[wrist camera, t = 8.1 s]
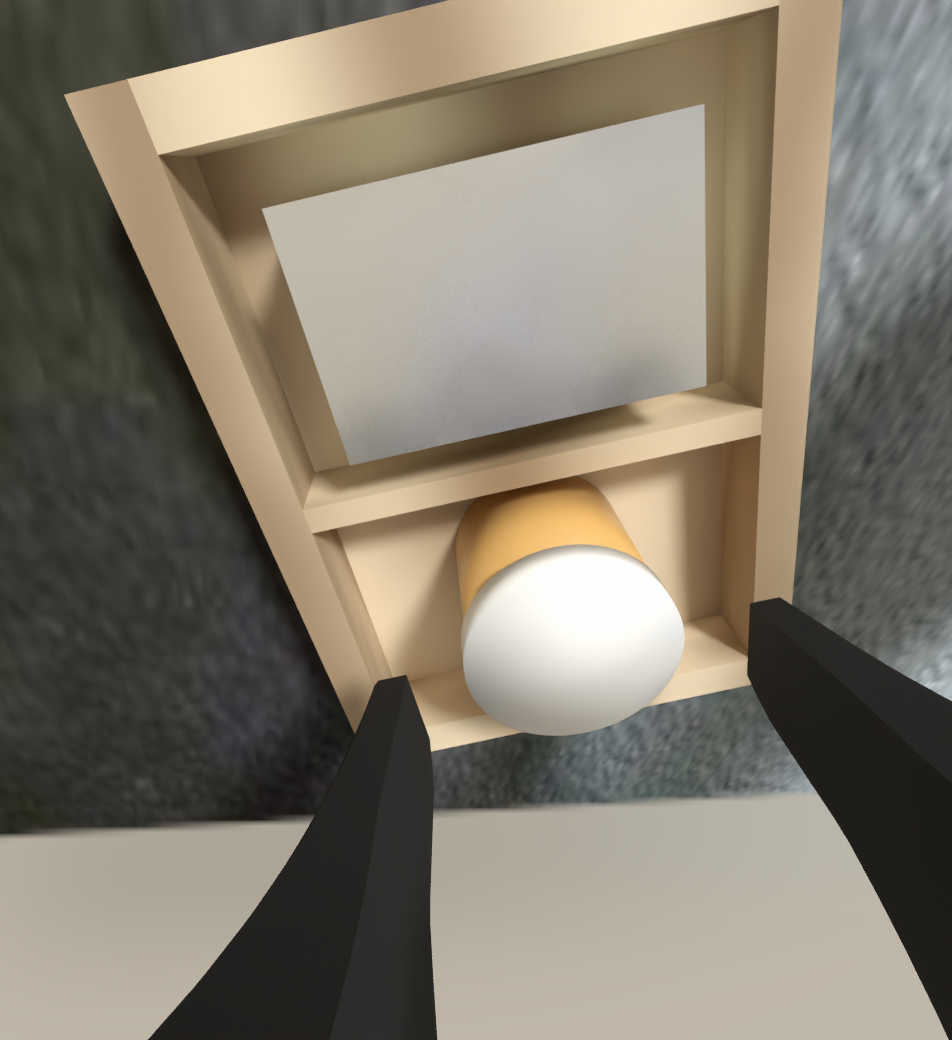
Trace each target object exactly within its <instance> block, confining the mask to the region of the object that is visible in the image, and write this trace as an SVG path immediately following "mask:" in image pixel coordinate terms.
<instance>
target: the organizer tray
mask: <svg viewBox="0 0 952 1040" xmlns="http://www.w3.org/2000/svg"><path fill="white" fill-rule="evenodd" d="M842 2H843V0H449V1H445V2H441V3H437V4H433V5H428V6H424V7H420V8H416V9H412V10H408V11H404V12H400V13H396V14H392V15H388V16H384V17H380V18H375V19H371V20H367V21H363V22H359V23H355V24H351V25H347V26H343V27H339V28H335V29H331V30H327V31H323V32H318V33H314V34H310V35H306V36H302V37H298V38H294V39H290V40H286V41H282V42H278V43H274V44H270V45H265V46H261V47H257V48H253V49H249V50H245V51H241V52H237V53H233V54H229V55H225V56H221V57H217V58H212V59H208V60H204V61H200V62H196V63H192V64H188V65H184V66H180V67H176V68H172V69H168V70H164V71H160V72H155V73H151V74H147V75H143V76H139V77H135V78H131V79H127V80H123V81H119V82H115V83H111V84H107V85H102V86H98V87H94V88H90V89H86V90H82V91H78V92H74V93H70V94H66V95H64V96H65V98H66V100H67V102H68V105H69V107H70V109H71V111H72V113H73V116H74V118H75V120H76V122H77V124H78V127H79V129H80V131H81V133H82V135H83V138H84V140H85V142H86V144H87V146H88V149H89V151H90V153H91V155H92V157H93V160H94V162H95V164H96V166H97V168H98V171H99V173H100V175H101V177H102V179H103V182H104V184H105V186H106V188H107V190H108V193H109V195H110V197H111V199H112V201H113V204H114V206H115V208H116V210H117V212H118V215H119V217H120V219H121V221H122V223H123V226H124V228H125V230H126V232H127V234H128V237H129V239H130V241H131V243H132V245H133V248H134V250H135V252H136V254H137V256H138V259H139V261H140V263H141V265H142V267H143V269H144V272H145V274H146V276H147V278H148V280H149V283H150V285H151V287H152V289H153V291H154V294H155V296H156V298H157V300H158V302H159V305H160V307H161V309H162V311H163V313H164V316H165V318H166V320H167V322H168V324H169V327H170V329H171V331H172V333H173V335H174V338H175V340H176V342H177V344H178V346H179V349H180V351H181V353H182V355H183V357H184V360H185V362H186V364H187V366H188V368H189V371H190V373H191V375H192V377H193V379H194V382H195V384H196V386H197V388H198V390H199V393H200V395H201V397H202V399H203V401H204V404H205V406H206V408H207V410H208V412H209V415H210V417H211V419H212V421H213V423H214V426H215V428H216V430H217V432H218V434H219V437H220V439H221V441H222V443H223V445H224V448H225V450H226V452H227V454H228V456H229V459H230V461H231V463H232V465H233V467H234V469H235V472H236V474H237V476H238V478H239V480H240V483H241V485H242V487H243V489H244V491H245V494H246V496H247V498H248V500H249V502H250V505H251V507H252V509H253V511H254V513H255V516H256V518H257V520H258V522H259V524H260V527H261V529H262V531H263V533H264V535H265V538H266V540H267V542H268V544H269V546H270V549H271V551H272V553H273V555H274V557H275V560H276V562H277V564H278V566H279V568H280V571H281V573H282V575H283V577H284V579H285V582H286V584H287V586H288V588H289V590H290V593H291V595H292V597H293V599H294V601H295V604H296V606H297V608H298V610H299V612H300V615H301V617H302V619H303V621H304V623H305V626H306V628H307V630H308V632H309V634H310V637H311V639H312V641H313V643H314V645H315V648H316V650H317V652H318V654H319V656H320V659H321V661H322V663H323V665H324V667H325V669H326V672H327V674H328V676H329V678H330V680H331V683H332V685H333V687H334V689H335V691H336V694H337V696H338V698H339V700H340V702H341V705H342V707H343V709H344V711H345V713H346V716H347V718H348V720H349V722H350V724H351V727H352V729H353V731H354V733H356V731H357V728H358V726H359V724H360V721H361V719H362V716H363V714H364V711H365V709H366V706H367V704H368V701H369V699H370V696H371V693H372V691H373V688H374V685H375V684H376V683H377V681H379V680H383V679H388V678H393V677H398V676H403V675H407V678H408V680H409V683H410V686H411V689H412V691H413V694H414V697H415V700H416V702H417V705H418V708H419V711H420V713H421V716H422V719H423V722H424V724H425V727H426V730H427V733H428V735H429V738H430V746H431V751H436V750H440V749H445V748H450V747H455V746H460V745H464V744H469V743H474V742H479V741H484V740H488V739H493V738H498V737H503V736H508V735H512V734H517V733H522V732H523V731H519V730H516V729H513V728H511V727H508V726H506V725H504V724H502V723H500V722H498V721H497V720H495V719H494V718H492V717H491V716H489V715H488V714H487V713H486V712H485V711H484V710H482V709H481V708H480V706H479V705H478V704H477V703H476V701H475V700H474V699H473V697H472V695H471V693H470V692H469V690H468V687H467V684H466V681H465V676H464V669H463V659H462V649H461V630H462V625H463V615H462V606H461V597H460V588H459V579H458V569H457V560H456V551H455V548H456V536H457V531H458V528H459V525H460V523H461V521H462V519H463V517H464V514H465V513H466V511H467V510H468V509H469V507H470V506H471V504H472V503H473V502H474V501H475V500H476V499H477V498H478V497H480V496H485V495H489V494H494V493H498V492H503V491H507V490H512V489H516V488H521V487H525V486H530V485H535V484H539V483H544V482H548V481H553V480H557V479H562V478H566V477H571V476H578V477H580V478H582V479H584V480H586V481H588V482H590V483H591V484H592V485H594V486H595V487H596V488H598V489H599V490H600V491H601V492H602V493H603V494H604V495H605V497H606V498H607V500H608V501H609V502H610V504H611V506H612V507H613V509H614V511H615V513H616V514H617V516H618V518H619V520H620V521H621V523H622V525H623V526H624V528H625V530H626V532H627V533H628V535H629V537H630V538H631V540H632V542H633V544H634V545H635V547H636V549H637V551H638V552H639V554H640V556H641V557H642V559H643V561H644V563H645V564H646V565H647V566H648V567H649V568H650V569H651V570H652V571H653V572H654V573H655V574H656V575H657V577H658V578H659V580H660V581H661V582H662V584H663V586H664V587H665V589H666V591H667V592H668V594H669V596H670V597H671V599H672V601H673V602H674V604H675V606H676V607H677V610H678V612H679V614H680V616H681V619H682V623H683V627H684V638H685V639H684V649H683V653H682V657H681V660H680V663H679V665H678V667H677V670H676V672H675V673H674V675H673V677H672V678H671V680H670V681H669V683H668V684H667V685H666V686H665V688H664V689H663V690H662V691H661V692H660V693H659V694H658V695H657V696H656V697H655V698H654V699H653V700H652V701H651V702H650V703H648V704H647V705H646V706H645V707H647V706H652V705H656V704H661V703H666V702H671V701H676V700H680V699H685V698H690V697H695V696H700V695H704V694H709V693H714V692H719V691H724V690H728V689H733V688H738V687H743V686H748V685H752V684H751V682H750V680H749V678H748V676H747V662H748V637H749V612H750V603H754V602H758V601H763V600H768V599H773V598H778V597H780V598H782V599H783V600H785V601H787V602H788V603H790V604H791V605H792V597H793V586H794V574H795V562H796V550H797V538H798V526H799V514H800V502H801V490H802V478H803V466H804V455H805V443H806V431H807V419H808V407H809V395H810V383H811V371H812V359H813V347H814V335H815V323H816V312H817V300H818V288H819V276H820V264H821V252H822V240H823V228H824V216H825V204H826V192H827V180H828V169H829V157H830V145H831V133H832V121H833V109H834V97H835V85H836V73H837V61H838V49H839V37H840V26H841V14H842ZM702 104H704V116H705V255H706V386H704V387H700V388H695V389H691V390H687V391H682V392H678V393H673V394H669V395H664V396H660V397H655V398H651V399H646V400H642V401H637V402H633V403H628V404H624V405H619V406H615V407H610V408H606V409H601V410H597V411H593V412H588V413H584V414H579V415H575V416H570V417H566V418H561V419H557V420H552V421H548V422H543V423H539V424H534V425H530V426H525V427H521V428H516V429H512V430H507V431H503V432H499V433H494V434H490V435H485V436H481V437H476V438H472V439H467V440H463V441H458V442H454V443H449V444H445V445H440V446H436V447H431V448H427V449H422V450H418V451H413V452H409V453H405V454H400V455H396V456H391V457H387V458H382V459H378V460H373V461H369V462H364V463H360V464H355V465H351V466H350V464H349V461H348V458H347V455H346V452H345V449H344V446H343V443H342V441H341V438H340V435H339V432H338V429H337V426H336V423H335V420H334V417H333V414H332V412H331V409H330V406H329V403H328V400H327V397H326V394H325V391H324V388H323V385H322V382H321V380H320V377H319V374H318V371H317V368H316V365H315V362H314V359H313V356H312V353H311V350H310V348H309V345H308V342H307V339H306V336H305V333H304V330H303V327H302V324H301V321H300V319H299V316H298V313H297V310H296V307H295V304H294V301H293V298H292V295H291V292H290V289H289V287H288V284H287V281H286V278H285V275H284V272H283V269H282V266H281V263H280V260H279V258H278V255H277V252H276V249H275V246H274V243H273V240H272V237H271V234H270V231H269V228H268V226H267V223H266V220H265V217H264V214H263V211H262V209H263V208H267V207H271V206H275V205H279V204H284V203H288V202H292V201H296V200H300V199H305V198H309V197H313V196H317V195H322V194H326V193H330V192H334V191H338V190H343V189H347V188H351V187H355V186H359V185H364V184H368V183H372V182H376V181H381V180H385V179H389V178H393V177H397V176H402V175H406V174H410V173H414V172H418V171H423V170H427V169H431V168H435V167H440V166H444V165H448V164H452V163H456V162H461V161H465V160H469V159H473V158H477V157H482V156H486V155H490V154H494V153H499V152H503V151H507V150H511V149H515V148H520V147H524V146H528V145H532V144H536V143H541V142H545V141H549V140H553V139H558V138H562V137H566V136H570V135H574V134H579V133H583V132H587V131H591V130H595V129H600V128H604V127H608V126H612V125H617V124H621V123H625V122H629V121H633V120H638V119H642V118H646V117H650V116H654V115H659V114H663V113H667V112H671V111H676V110H680V109H684V108H688V107H692V106H697V105H702Z"/></svg>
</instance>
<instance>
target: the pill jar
mask: <svg viewBox="0 0 952 1040" xmlns="http://www.w3.org/2000/svg"><path fill="white" fill-rule="evenodd" d="M455 551H456V560H457V569H458V579H459V588H460V597H461V606H462V615H463V625H462V630H461V649H462V659H463V669H464V676H465V681H466V684H467V687H468V690H469V692H470V693H471V695H472V697H473V699H474V700H475V701H476V703H477V704H478V705H479V706H480V708H481V709H482V710H484V711H485V712H486V713H487V714H488V715H489V716H491V717H492V718H494V719H495V720H497V721H498V722H500V723H502V724H504V725H506V726H508V727H511V728H513V729H516V730H519V731H523V732H527V733H531V734H538V735H549V736H563V735H574V734H581V733H586V732H591V731H595V730H598V729H601V728H604V727H607V726H610V725H612V724H615V723H617V722H619V721H622V720H624V719H625V718H627V717H629V716H631V715H633V714H634V713H636V712H637V711H639V710H640V709H642V708H643V707H645V706H646V705H647V704H648V703H650V702H651V701H652V700H653V699H654V698H655V697H656V696H657V695H658V694H659V693H660V692H661V691H662V690H663V689H664V688H665V686H666V685H667V684H668V683H669V681H670V680H671V678H672V677H673V675H674V673H675V672H676V670H677V667H678V665H679V663H680V660H681V657H682V653H683V649H684V639H685V638H684V627H683V623H682V619H681V616H680V614H679V612H678V610H677V607H676V606H675V604H674V602H673V601H672V599H671V597H670V596H669V594H668V592H667V591H666V589H665V587H664V586H663V584H662V582H661V581H660V580H659V578H658V577H657V575H656V574H655V573H654V572H653V571H652V570H651V569H650V568H649V567H648V566H647V565H646V564H645V563H644V561H643V559H642V557H641V556H640V554H639V552H638V551H637V549H636V547H635V545H634V544H633V542H632V540H631V538H630V537H629V535H628V533H627V532H626V530H625V528H624V526H623V525H622V523H621V521H620V520H619V518H618V516H617V514H616V513H615V511H614V509H613V507H612V506H611V504H610V502H609V501H608V500H607V498H606V497H605V495H604V494H603V493H602V492H601V491H600V490H599V489H598V488H596V487H595V486H594V485H592V484H591V483H590V482H588V481H586V480H584V479H582V478H580V477H578V476H571V477H566V478H562V479H557V480H553V481H548V482H544V483H539V484H535V485H530V486H525V487H521V488H516V489H512V490H507V491H503V492H498V493H494V494H489V495H485V496H480V497H478V498H477V499H476V500H475V501H474V502H473V503H472V504H471V506H470V507H469V509H468V510H467V511H466V513H465V514H464V517H463V519H462V521H461V523H460V525H459V528H458V531H457V536H456V548H455Z"/></svg>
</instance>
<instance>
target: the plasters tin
mask: <svg viewBox="0 0 952 1040" xmlns="http://www.w3.org/2000/svg"><path fill="white" fill-rule="evenodd" d="M262 211H263V214H264V217H265V220H266V223H267V226H268V228H269V231H270V234H271V237H272V240H273V243H274V246H275V249H276V252H277V255H278V258H279V260H280V263H281V266H282V269H283V272H284V275H285V278H286V281H287V284H288V287H289V289H290V292H291V295H292V298H293V301H294V304H295V307H296V310H297V313H298V316H299V319H300V321H301V324H302V327H303V330H304V333H305V336H306V339H307V342H308V345H309V348H310V350H311V353H312V356H313V359H314V362H315V365H316V368H317V371H318V374H319V377H320V380H321V382H322V385H323V388H324V391H325V394H326V397H327V400H328V403H329V406H330V409H331V412H332V414H333V417H334V420H335V423H336V426H337V429H338V432H339V435H340V438H341V441H342V443H343V446H344V449H345V452H346V455H347V458H348V461H349V464H350V466H351V465H355V464H360V463H364V462H369V461H373V460H378V459H382V458H387V457H391V456H396V455H400V454H405V453H409V452H413V451H418V450H422V449H427V448H431V447H436V446H440V445H445V444H449V443H454V442H458V441H463V440H467V439H472V438H476V437H481V436H485V435H490V434H494V433H499V432H503V431H507V430H512V429H516V428H521V427H525V426H530V425H534V424H539V423H543V422H548V421H552V420H557V419H561V418H566V417H570V416H575V415H579V414H584V413H588V412H593V411H597V410H601V409H606V408H610V407H615V406H619V405H624V404H628V403H633V402H637V401H642V400H646V399H651V398H655V397H660V396H664V395H669V394H673V393H678V392H682V391H687V390H691V389H695V388H700V387H704V386H706V255H705V116H704V104H702V105H697V106H692V107H688V108H684V109H680V110H676V111H671V112H667V113H663V114H659V115H654V116H650V117H646V118H642V119H638V120H633V121H629V122H625V123H621V124H617V125H612V126H608V127H604V128H600V129H595V130H591V131H587V132H583V133H579V134H574V135H570V136H566V137H562V138H558V139H553V140H549V141H545V142H541V143H536V144H532V145H528V146H524V147H520V148H515V149H511V150H507V151H503V152H499V153H494V154H490V155H486V156H482V157H477V158H473V159H469V160H465V161H461V162H456V163H452V164H448V165H444V166H440V167H435V168H431V169H427V170H423V171H418V172H414V173H410V174H406V175H402V176H397V177H393V178H389V179H385V180H381V181H376V182H372V183H368V184H364V185H359V186H355V187H351V188H347V189H343V190H338V191H334V192H330V193H326V194H322V195H317V196H313V197H309V198H305V199H300V200H296V201H292V202H288V203H284V204H279V205H275V206H271V207H267V208H263V209H262Z"/></svg>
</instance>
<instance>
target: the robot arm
mask: <svg viewBox="0 0 952 1040" xmlns="http://www.w3.org/2000/svg"><path fill="white" fill-rule="evenodd" d="M747 676H748V678H749V680H750V682H751V684H752V686H753V688H754V690H755V692H756V694H757V696H758V699H759V701H760V702H761V704H762V706H763V708H764V710H765V712H766V714H767V716H768V718H769V720H770V721H771V723H772V725H773V726H774V728H775V729H776V731H777V732H778V734H779V735H780V737H781V739H782V740H783V742H784V743H785V745H786V746H787V748H788V749H789V751H790V752H791V754H792V755H793V757H794V758H795V760H796V761H797V763H798V764H799V766H800V767H801V769H802V770H803V772H804V773H805V775H806V776H807V778H808V779H809V781H810V782H811V784H812V785H813V787H814V788H815V790H816V791H817V793H818V794H819V796H820V797H821V799H822V800H823V802H824V803H825V805H826V806H827V808H828V809H829V811H830V812H831V814H832V815H833V817H834V819H835V820H836V822H837V823H838V825H839V827H840V828H841V830H842V831H843V833H844V835H845V836H846V838H847V839H848V841H849V843H850V845H851V847H852V848H853V850H854V852H855V854H856V856H857V858H858V860H859V861H860V863H861V865H862V867H863V869H864V871H865V873H866V874H867V876H868V878H869V880H870V882H871V884H872V885H873V887H874V889H875V891H876V893H877V895H878V897H879V899H880V901H881V902H882V905H883V906H884V908H885V910H886V912H887V914H888V916H889V918H890V920H891V922H892V924H893V926H894V928H895V930H896V932H897V933H898V935H899V938H900V940H901V942H902V943H903V945H904V947H905V949H906V951H907V953H908V955H909V957H910V960H911V962H912V964H913V966H914V968H915V970H916V972H917V974H918V976H919V978H920V980H921V982H922V984H923V986H924V988H925V990H926V992H927V994H928V996H929V998H930V1001H931V1003H932V1005H933V1007H934V1009H935V1011H936V1013H937V1015H938V1017H939V1019H940V1021H941V1024H942V1026H943V1028H944V1030H945V1032H946V1034H947V1037H948V1039H949V1040H952V701H950V700H948V699H946V698H945V697H943V696H941V695H939V694H937V693H935V692H933V691H932V690H930V689H928V688H926V687H924V686H923V685H921V684H919V683H917V682H915V681H913V680H912V679H910V678H908V677H906V676H904V675H903V674H901V673H899V672H898V671H896V670H894V669H892V668H891V667H889V666H887V665H886V664H884V663H882V662H881V661H879V660H877V659H876V658H874V657H872V656H871V655H869V654H867V653H866V652H864V651H863V650H861V649H859V648H858V647H856V646H855V645H853V644H851V643H850V642H848V641H847V640H845V639H843V638H842V637H840V636H839V635H837V634H836V633H834V632H833V631H831V630H829V629H828V628H826V627H825V626H823V625H822V624H820V623H819V622H817V621H816V620H814V619H813V618H811V617H810V616H808V615H807V614H805V613H803V612H802V611H800V610H799V609H797V608H796V607H794V606H793V605H791V604H790V603H788V602H787V601H785V600H783V599H782V598H780V597H778V598H773V599H768V600H763V601H758V602H754V603H750V612H749V637H748V662H747ZM433 795H434V785H433V771H432V758H431V746H430V738H429V735H428V733H427V730H426V727H425V724H424V722H423V719H422V716H421V713H420V711H419V708H418V705H417V702H416V700H415V697H414V694H413V691H412V689H411V686H410V683H409V680H408V678H407V675H403V676H398V677H393V678H388V679H383V680H379V681H377V683H376V684H375V685H374V688H373V691H372V693H371V696H370V699H369V701H368V704H367V706H366V709H365V711H364V714H363V716H362V719H361V721H360V724H359V726H358V728H357V731H356V733H355V735H354V738H353V740H352V742H351V744H350V746H349V749H348V751H347V753H346V755H345V757H344V759H343V762H342V764H341V766H340V768H339V770H338V772H337V774H336V776H335V778H334V780H333V782H332V784H331V786H330V788H329V790H328V792H327V794H326V796H325V797H324V799H323V801H322V803H321V805H320V807H319V809H318V811H317V813H316V815H315V816H314V818H313V820H312V822H311V823H310V825H309V827H308V829H307V830H306V832H305V834H304V835H303V837H302V839H301V840H300V842H299V844H298V845H297V847H296V849H295V850H294V852H293V854H292V855H291V857H290V858H289V860H288V862H287V863H286V865H285V866H284V868H283V869H282V871H281V873H280V874H279V875H278V877H277V878H276V880H275V881H274V883H273V884H272V886H271V887H270V889H269V890H268V891H267V893H266V894H265V896H264V897H263V899H262V900H261V902H260V903H259V905H258V906H257V907H256V909H255V910H254V912H253V913H252V914H251V916H250V917H249V918H248V920H247V921H246V922H245V924H244V925H243V926H242V928H241V929H240V930H239V932H238V933H237V934H236V936H235V937H234V938H233V939H232V941H231V942H230V943H229V944H228V946H227V947H226V948H225V950H224V951H223V952H222V953H221V955H220V956H219V957H218V958H217V960H216V961H215V962H214V963H213V965H212V966H211V967H210V969H209V970H208V971H207V972H206V974H205V975H204V976H203V977H202V978H201V980H200V981H199V982H198V983H197V984H196V986H195V987H194V988H193V989H192V990H191V992H190V993H189V994H188V995H187V996H186V997H185V998H184V999H183V1001H182V1002H181V1003H180V1004H179V1005H178V1006H177V1007H176V1009H175V1010H174V1011H173V1012H172V1013H171V1015H169V1017H168V1018H167V1019H166V1020H165V1021H164V1022H163V1023H162V1024H161V1026H160V1027H159V1028H158V1029H157V1030H156V1031H155V1032H154V1034H153V1035H152V1036H151V1037H150V1038H149V1039H148V1040H437V1030H436V1014H435V999H434V985H433V968H432V950H431V949H432V948H431V932H430V931H431V930H430V887H431V856H432V829H433Z"/></svg>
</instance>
